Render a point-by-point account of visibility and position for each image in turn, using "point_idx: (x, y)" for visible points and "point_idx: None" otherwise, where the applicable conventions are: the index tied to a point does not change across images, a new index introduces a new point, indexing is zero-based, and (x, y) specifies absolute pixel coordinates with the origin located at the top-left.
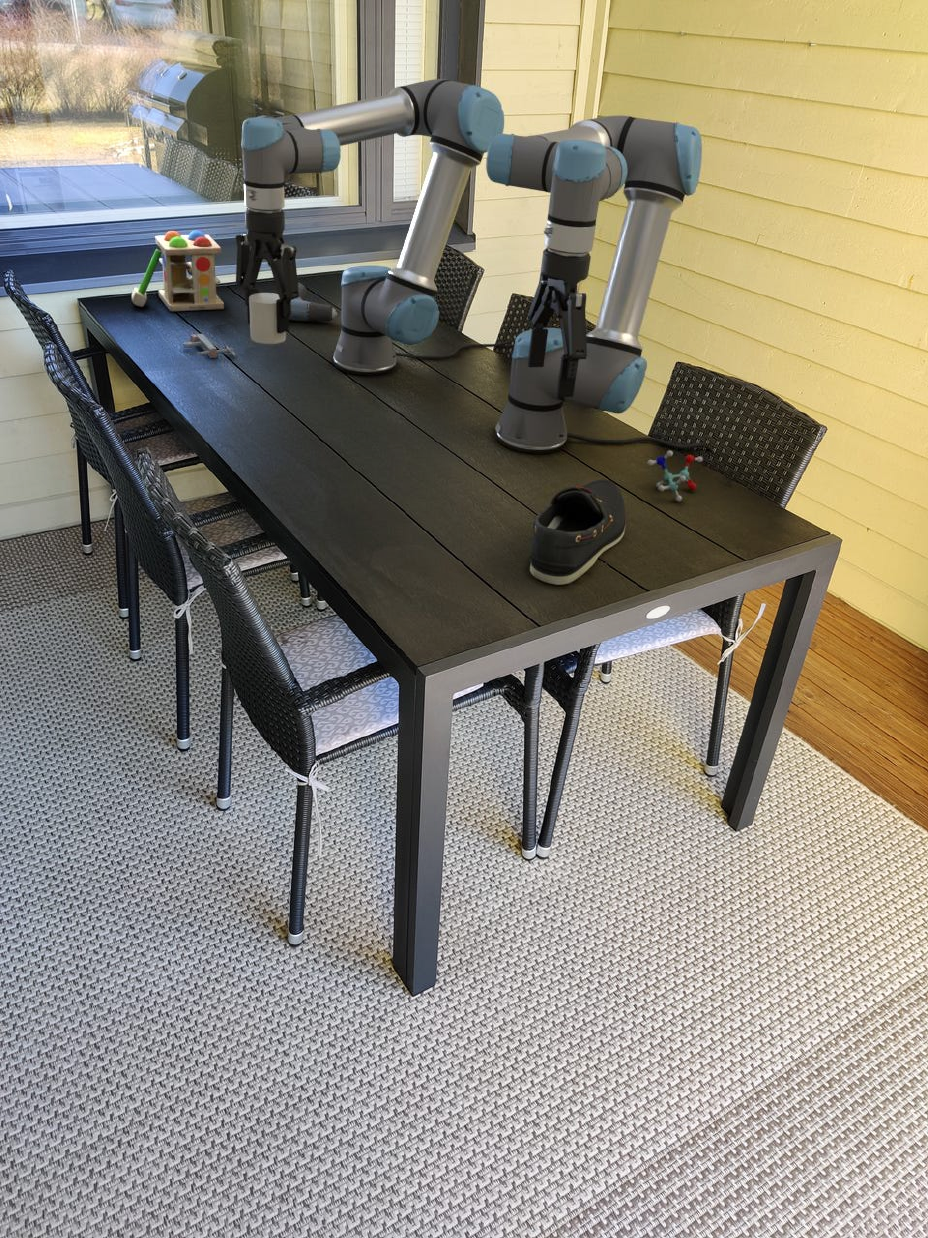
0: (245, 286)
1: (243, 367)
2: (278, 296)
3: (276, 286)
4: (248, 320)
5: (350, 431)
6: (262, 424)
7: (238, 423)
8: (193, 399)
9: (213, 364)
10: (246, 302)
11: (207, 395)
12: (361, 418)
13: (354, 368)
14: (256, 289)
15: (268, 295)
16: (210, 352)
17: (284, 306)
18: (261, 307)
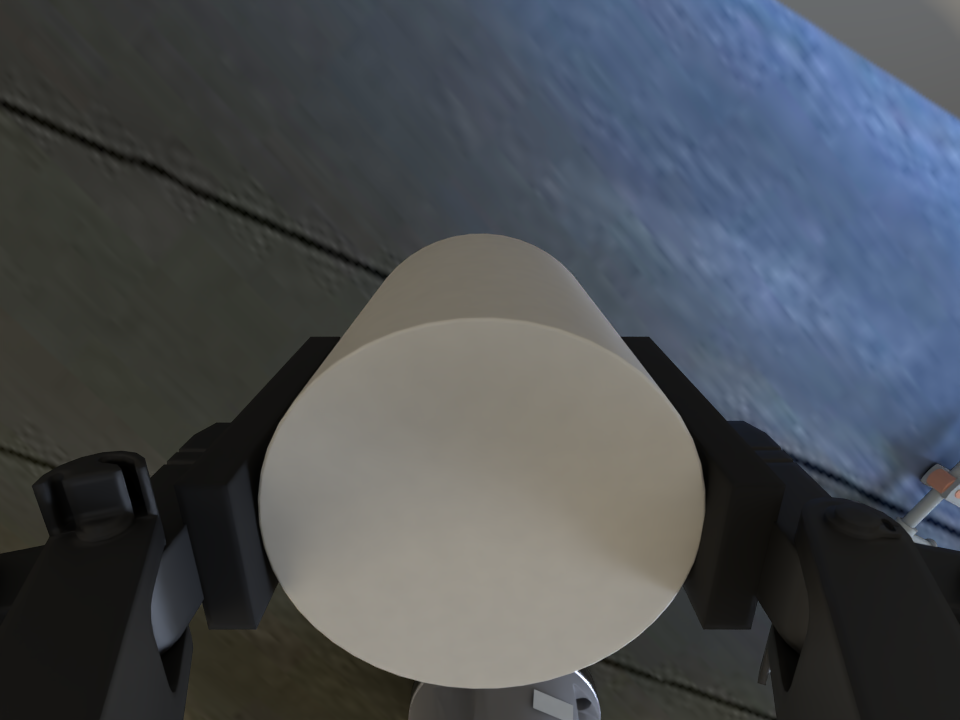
0: (848, 532)
1: None
2: (431, 643)
3: (106, 660)
4: (648, 344)
5: (154, 303)
6: (407, 128)
7: (481, 65)
8: (775, 127)
9: (897, 431)
10: (746, 436)
11: (752, 199)
12: (216, 409)
13: None
14: (727, 619)
15: (534, 600)
16: (952, 475)
17: (167, 480)
18: (392, 318)
